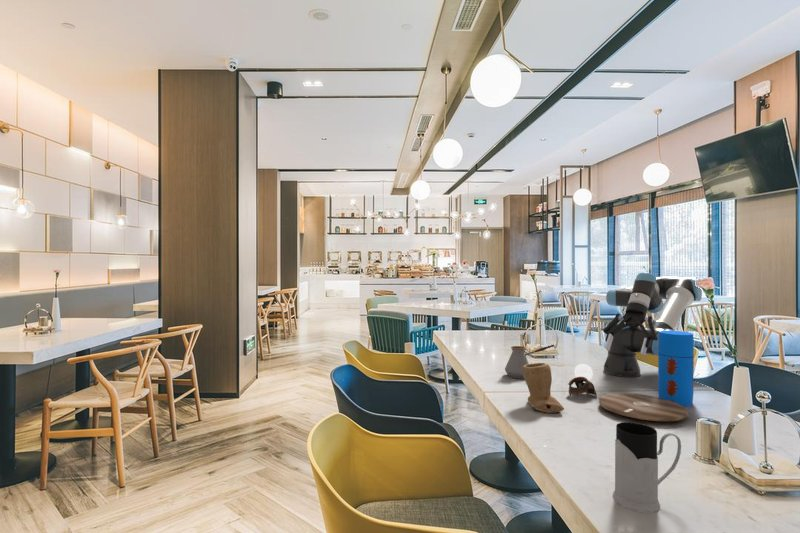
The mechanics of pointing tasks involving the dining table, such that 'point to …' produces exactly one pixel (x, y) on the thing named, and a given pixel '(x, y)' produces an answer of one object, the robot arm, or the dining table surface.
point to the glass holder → (639, 466)
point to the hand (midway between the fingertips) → (624, 351)
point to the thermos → (676, 367)
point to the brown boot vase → (540, 387)
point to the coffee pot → (519, 361)
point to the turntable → (643, 407)
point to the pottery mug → (581, 386)
